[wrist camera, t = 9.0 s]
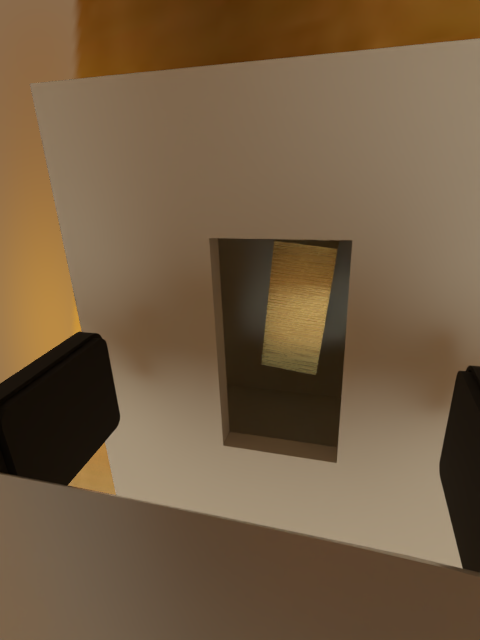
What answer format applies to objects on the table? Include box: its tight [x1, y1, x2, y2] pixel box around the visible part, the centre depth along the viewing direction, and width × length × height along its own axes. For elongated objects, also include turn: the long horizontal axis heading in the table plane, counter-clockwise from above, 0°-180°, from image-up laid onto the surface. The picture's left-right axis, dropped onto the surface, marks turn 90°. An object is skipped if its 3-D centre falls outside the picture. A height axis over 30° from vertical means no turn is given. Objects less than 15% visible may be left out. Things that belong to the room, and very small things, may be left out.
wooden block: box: [261, 239, 340, 375], centre depth 18 cm, size 5×2×6 cm
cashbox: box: [30, 38, 480, 569], centre depth 17 cm, size 16×14×10 cm
